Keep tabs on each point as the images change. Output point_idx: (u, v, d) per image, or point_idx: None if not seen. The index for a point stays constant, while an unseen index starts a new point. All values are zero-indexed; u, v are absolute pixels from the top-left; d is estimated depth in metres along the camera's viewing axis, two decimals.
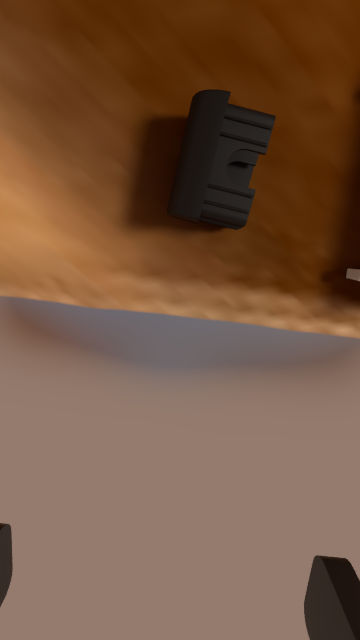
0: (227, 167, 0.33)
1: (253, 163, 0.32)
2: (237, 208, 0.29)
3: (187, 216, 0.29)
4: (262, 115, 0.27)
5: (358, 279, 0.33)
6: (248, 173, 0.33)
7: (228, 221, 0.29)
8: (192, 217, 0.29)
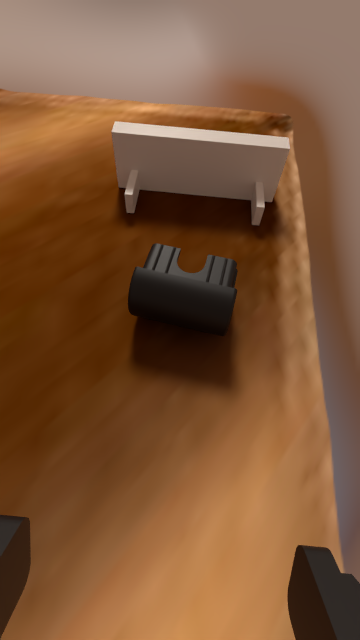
0: None
1: None
2: (224, 265, 0.34)
3: (234, 299, 0.31)
4: (152, 251, 0.34)
5: (263, 209, 0.43)
6: None
7: (233, 273, 0.34)
8: (235, 294, 0.31)
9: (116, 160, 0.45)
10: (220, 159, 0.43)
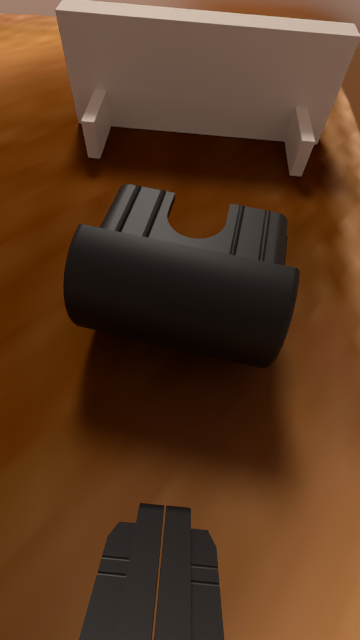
0: None
1: None
2: (264, 222, 0.16)
3: (296, 292, 0.14)
4: (118, 197, 0.17)
5: (312, 145, 0.26)
6: None
7: (285, 240, 0.16)
8: (297, 282, 0.14)
9: (69, 70, 0.27)
10: (239, 63, 0.26)
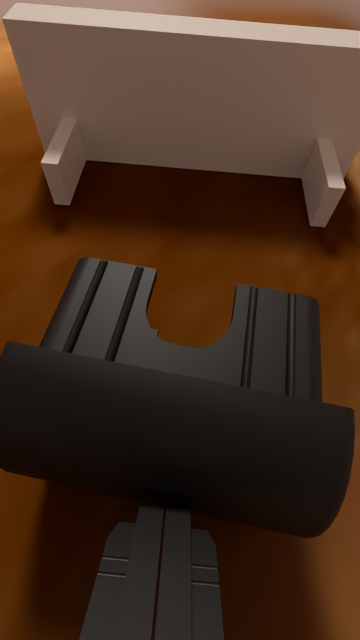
0: None
1: (155, 333, 0.16)
2: (290, 316, 0.11)
3: (352, 451, 0.09)
4: (74, 280, 0.12)
5: (341, 192, 0.20)
6: None
7: None
8: (353, 433, 0.09)
9: (28, 95, 0.21)
10: (247, 86, 0.20)
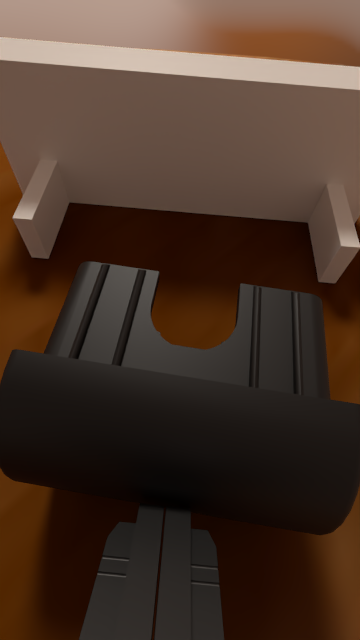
0: None
1: None
2: (294, 314, 0.11)
3: None
4: (76, 285, 0.12)
5: (355, 251, 0.18)
6: None
7: (324, 338, 0.11)
8: None
9: (1, 136, 0.19)
10: (248, 130, 0.18)
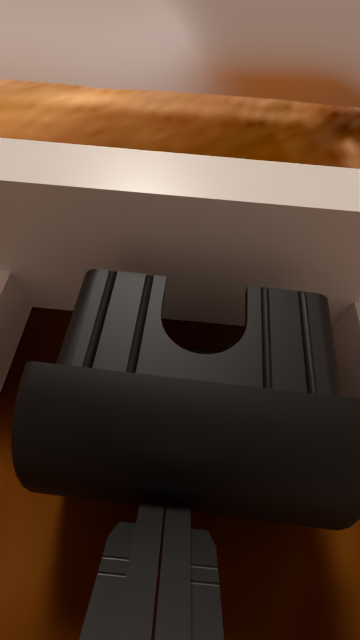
0: None
1: None
2: (303, 314, 0.11)
3: None
4: (85, 293, 0.12)
5: None
6: None
7: None
8: None
9: None
10: (255, 251, 0.13)
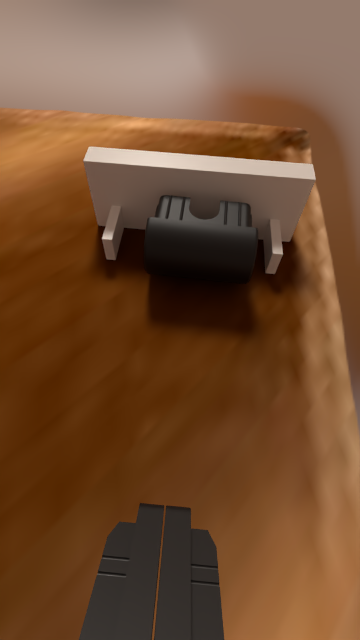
0: None
1: None
2: (239, 208, 0.32)
3: (257, 239, 0.30)
4: (161, 202, 0.32)
5: (280, 256, 0.33)
6: None
7: (250, 216, 0.32)
8: (257, 234, 0.30)
9: (92, 194, 0.35)
10: (224, 193, 0.34)
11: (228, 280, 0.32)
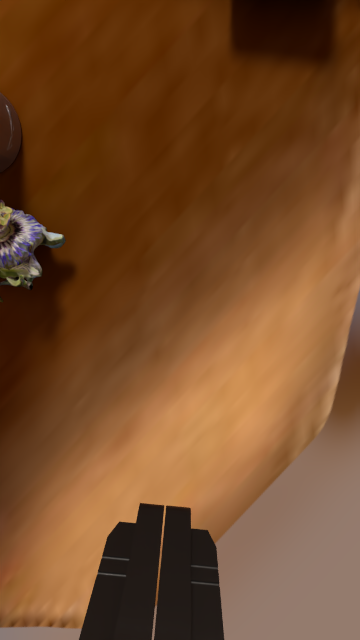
0: None
1: None
2: None
3: None
4: None
5: None
6: None
7: None
8: None
9: None
10: None
11: None
